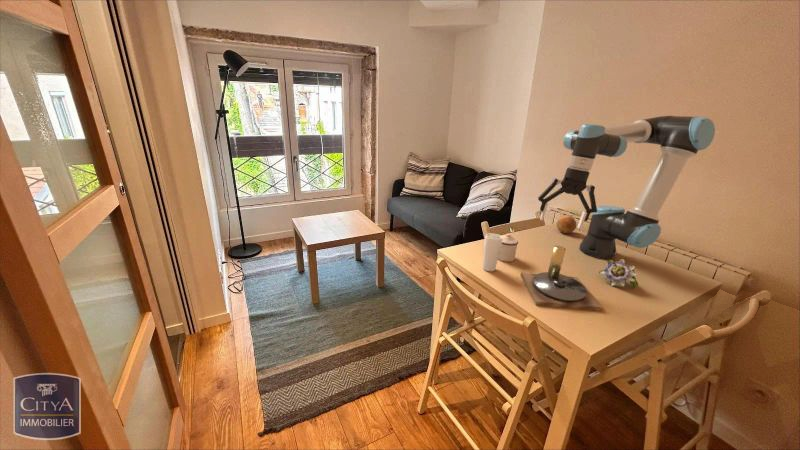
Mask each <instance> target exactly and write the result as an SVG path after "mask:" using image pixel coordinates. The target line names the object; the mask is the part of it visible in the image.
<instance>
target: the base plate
mask: <svg viewBox="0 0 800 450" xmlns="http://www.w3.org/2000/svg"><path fill="white" fill-rule="evenodd" d="M536 274H537V273H532V272H531V273H528V272H520V278H521V280H522V281H523V283H524V286H525V287H526V290H527V291H528V293H529V295H530V297H531V299H532V301H533V303H534V305H535V306H539V307H540V306H542V307H554V308H567V309H575V308H576V310H587V309H591V310H590V311H598V310H603V306H602V304H600V302H599V301H598V300H597V299H596V298H595V296H594V295H593V294H592V293H591V291H590V290H589V289H588V288H587V287H586V286H585V285H584V284H583V282H582V281H581V280H580V278H578V276H569V275H567V276H568V277H571V278H573V279H575V280H577V281H578V282H580V283H581V284H582V285H583V286H584V287H585V288H586V290H587V294H586V297H585V298H584V299H583V300H581V301H578V302H565V301H560V300H556V299H553V298H550V297H548V296H546V295H544V294H542V293H541V292H539V291H538V290H537V289H536V288H535V287H534V285H533V278H534V276H535V275H536Z"/></svg>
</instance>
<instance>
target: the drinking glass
mask: <svg viewBox="0 0 800 450" xmlns="http://www.w3.org/2000/svg"><path fill="white" fill-rule="evenodd" d="M502 236H503V235H500V234H498V233H493V232H492V233H490V232H489V233H486V234H485V237H484V241H483V242H484V245H483V260H482V261H483V262H482V268H483V270H484V271H486V272H495V270H496V268H497V263H498V261H499V260H498V257H499V253H500V249H501V245H502Z"/></svg>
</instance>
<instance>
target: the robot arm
mask: <svg viewBox="0 0 800 450" xmlns="http://www.w3.org/2000/svg"><path fill="white" fill-rule="evenodd" d="M715 126H716V125H715V124H714V121H713V120H712V119H711V118H709V117H702V116H696V115H695V116H681V115H679V116H678V115H677V116H675V115H661V116H655V117H649V118H644V119H639V120H636V121H633V122H632V123H627V124H622V125H621V124H620V125H614V126H607V127H605V126H603V125H599V124H594V123H593V124H592V123H584V124H582V125H581V126H580V129H579V130H570V131H568V132H567V133H566V134H565V135H564V137H563V142H562V143H563V147H565V149H567V150H570V151H572V153H571V155H570V159H569V161H568V165H567V166H568V167H567V168H566V170H565V173H564V176H563V179H558V178H556V177H555V178H553V180H552V182H551V184H549V186H547V188H546V189H544V191H543V192H541V194H540V195H539V196H538V197H537V200H538V201H539V202H541V205H540V208H539V211H540V212H541V213H540V218H539V220H540V221H542V222H543V221H544V218H545V215H546V212H547V209H548V206H549V204H548V203H549V202H551V200H553V199H555V198H556V197H558V196H560V195H561V194H563V193H565V194H568V195H569V194H570V195H572V196H578V198H579V199H580V202H581V204H582V206H583V208H584V210H583V211H582V213H581V216H580V219H579V221H578V225H577V229H579V230H582V228H583V225H584V222H587V221H588V220H589V217H590V214H591V217H590V218H591V219H590V222H589V227H588V229H587V233H586V236H584V238H583V239H582V241H581V242H580V244H579V248H578V249H579V250H580V252H582V253H583V254H585V255H587V256H590V257H593V258H597V259H605V260H609V259H610V260H612V259H614V258H615V257H616V254H617V246H616V245H617V244H616V240H618V241H621V242H624V243H625V244H627V245H629V246H632V247H635V248H638V249H642V248H647V247H649V246H650V245H652V244H653V243H655V241H657V239H659V237H660V234H661V232H662V231H661V230H662V227H661V226H660V224H659V222H660V217H659V216H658V215H659V213H660V211H661V209H662V207H663V205H664V204H665V202H666V201H667V198H668V197H669V196H670V195H669V194H670V193H671V191H672V189H673V188H674V186H675V184H676V182H677V180H678V178H679V176H680V174H681V173H682V171H683V169H684V167H685V166H686V164H687V162H688V160H689V159H691V158H693V157H695V156H696V155H697V154H698V151H703V150H705V149H708V147H709V146H710V145H711V144H712V142H713V139H714V138H715V135H716V134H715V132H716V128H715ZM628 143H634V144H643V143H644V144H653V145H660V147H659V150H660V151H661V154H660V156H659V158H658V160H657V162H656V164H655V166H654V168H653V169H652V172H651V173H650V175H649V178H648V179H647V181H646V183H645V184H644V186H643V189H642V191H641V193H640V195H639V196H638V197H637V198H638V199H637V201H636V203H635V204H634V207H632V208H630V209H627V211H626V209H625V208H624V207H621V206H615V205H614V206H613V205H598V206H597V202H596V201H597V200H596V196H595V189H596V187H595V186H594V185H592V184H590V185H588V184H587V183H588V182H587V181H588V179H589V176H590V171H591V170H592V168H593V165H594V162H595V159H596V157H597V155H599V156H605V157H609V158H617V157H620V156H622V155H623V154H624V153H625V152H626V150H627V149H628V148H627V147H628ZM559 184H560V186H561V187H560V188H559V189H557V190H556V191H554V192H553V193H551V191H552V190H554V188H555V187H556V186H559ZM585 190H586V192H588V196H589V198H588V199H589V203H590V206H589V204H588V202H587V200H586V198H585V195H584V194H583V191H585ZM549 193H551V194H549ZM548 194H549V195H548ZM547 195H548V196H547ZM590 207H591V208H590ZM625 212H626V213H625Z"/></svg>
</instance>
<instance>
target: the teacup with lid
mask: <svg viewBox="0 0 800 450" xmlns="http://www.w3.org/2000/svg"><path fill="white" fill-rule="evenodd" d="M501 236H502V245H501V249H500V253H499V257H498V260H497V261H501V262H505V263H506V262H507V263H510V262H511V263H512V262H513V261H514V260H515V258H516V254H517V252H516V251H517V247H518V244H519V240H518V239H517V238H516V237H513V236H512V235H511V233H506V234H504V235H501Z"/></svg>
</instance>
